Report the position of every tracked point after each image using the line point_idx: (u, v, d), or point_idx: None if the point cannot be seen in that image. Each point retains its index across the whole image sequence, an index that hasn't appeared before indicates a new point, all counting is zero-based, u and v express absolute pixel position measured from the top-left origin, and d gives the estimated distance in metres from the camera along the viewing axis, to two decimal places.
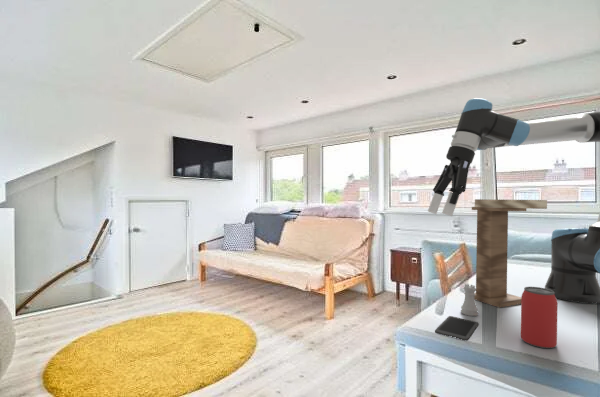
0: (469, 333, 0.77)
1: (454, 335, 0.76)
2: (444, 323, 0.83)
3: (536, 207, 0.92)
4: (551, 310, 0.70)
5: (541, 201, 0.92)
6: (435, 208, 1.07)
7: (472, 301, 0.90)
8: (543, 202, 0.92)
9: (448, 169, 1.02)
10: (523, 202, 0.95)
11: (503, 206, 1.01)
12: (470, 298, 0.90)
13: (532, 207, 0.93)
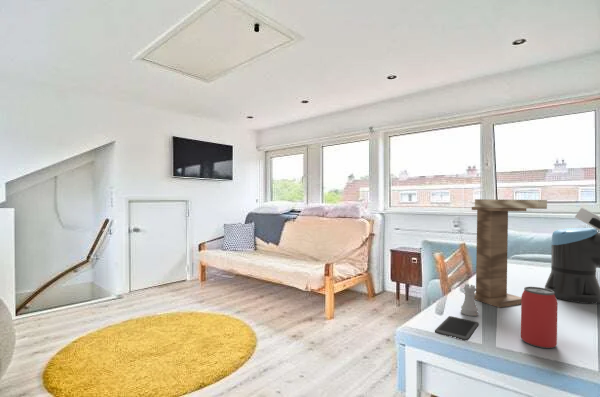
0: (469, 333, 0.77)
1: (454, 335, 0.76)
2: (444, 323, 0.83)
3: (536, 207, 0.92)
4: (551, 310, 0.70)
5: (541, 201, 0.92)
6: None
7: (472, 301, 0.90)
8: (542, 202, 0.92)
9: None
10: (523, 202, 0.95)
11: (503, 206, 1.01)
12: (470, 298, 0.90)
13: (532, 207, 0.93)
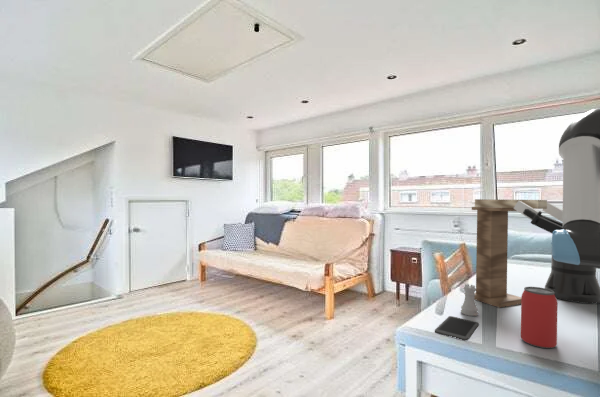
0: (469, 333, 0.77)
1: (454, 335, 0.76)
2: (444, 323, 0.83)
3: (536, 207, 0.92)
4: (551, 310, 0.70)
5: (541, 201, 0.92)
6: None
7: (472, 301, 0.90)
8: (542, 202, 0.92)
9: None
10: (523, 202, 0.95)
11: (503, 206, 1.01)
12: (470, 298, 0.90)
13: (532, 207, 0.93)
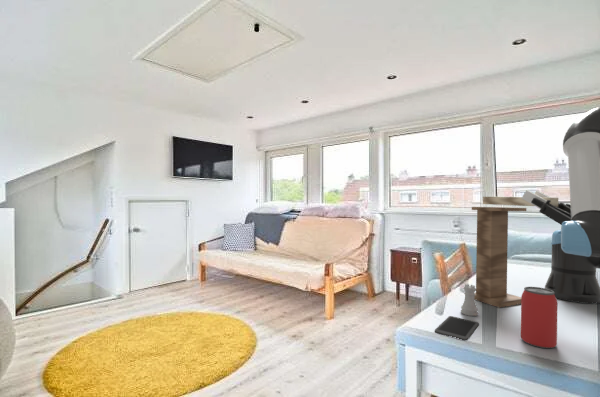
0: (469, 333, 0.77)
1: (454, 335, 0.76)
2: (444, 323, 0.83)
3: None
4: (551, 310, 0.70)
5: (552, 199, 0.89)
6: None
7: (472, 301, 0.90)
8: (554, 199, 0.90)
9: None
10: None
11: (512, 204, 0.98)
12: (470, 298, 0.90)
13: None
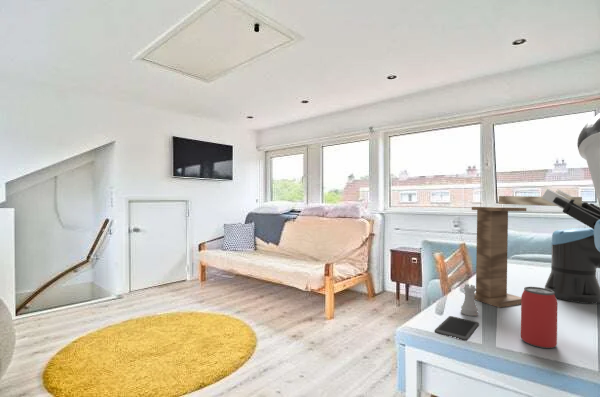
0: (469, 333, 0.77)
1: (453, 335, 0.76)
2: (444, 323, 0.83)
3: None
4: (551, 310, 0.70)
5: (576, 198, 0.84)
6: None
7: (472, 301, 0.90)
8: (577, 199, 0.85)
9: None
10: None
11: (532, 203, 0.93)
12: (470, 298, 0.90)
13: None
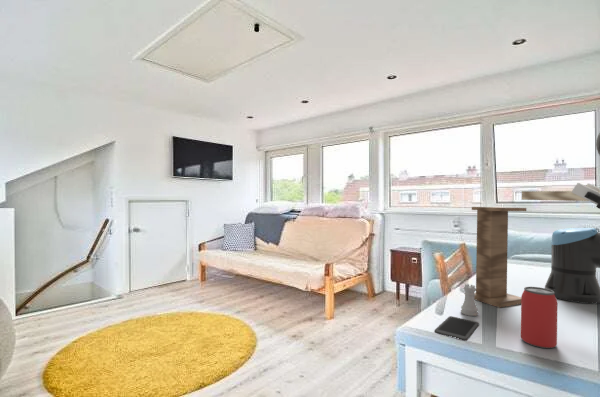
0: (469, 333, 0.77)
1: (453, 335, 0.76)
2: (444, 323, 0.83)
3: None
4: (551, 310, 0.70)
5: None
6: None
7: (472, 301, 0.90)
8: None
9: None
10: None
11: (559, 199, 0.87)
12: (470, 298, 0.90)
13: None
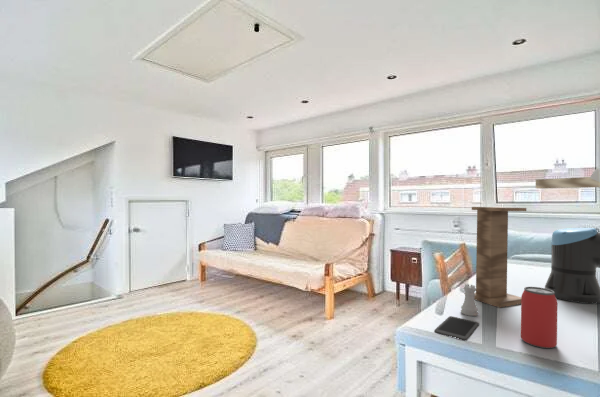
0: (469, 333, 0.77)
1: (453, 335, 0.76)
2: (444, 323, 0.83)
3: None
4: (551, 310, 0.70)
5: None
6: None
7: (472, 301, 0.90)
8: None
9: None
10: None
11: (577, 186, 0.83)
12: (470, 298, 0.90)
13: None
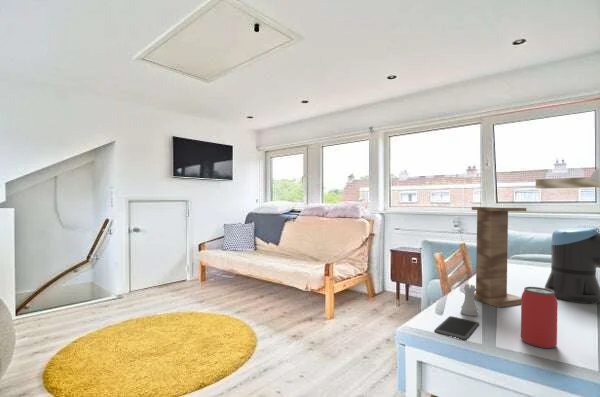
0: (468, 333, 0.77)
1: (453, 335, 0.76)
2: (444, 323, 0.83)
3: None
4: (551, 310, 0.70)
5: None
6: None
7: (472, 301, 0.90)
8: None
9: None
10: None
11: (577, 186, 0.83)
12: (470, 298, 0.90)
13: None
